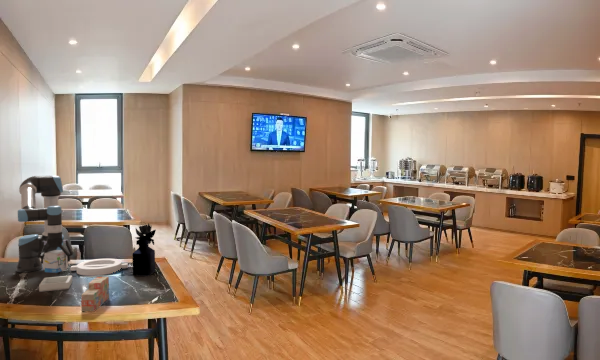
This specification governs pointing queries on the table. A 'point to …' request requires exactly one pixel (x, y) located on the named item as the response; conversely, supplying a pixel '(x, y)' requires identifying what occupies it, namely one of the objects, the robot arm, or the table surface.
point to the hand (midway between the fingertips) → (55, 268)
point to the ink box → (55, 261)
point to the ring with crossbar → (99, 266)
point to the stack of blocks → (95, 294)
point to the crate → (55, 283)
